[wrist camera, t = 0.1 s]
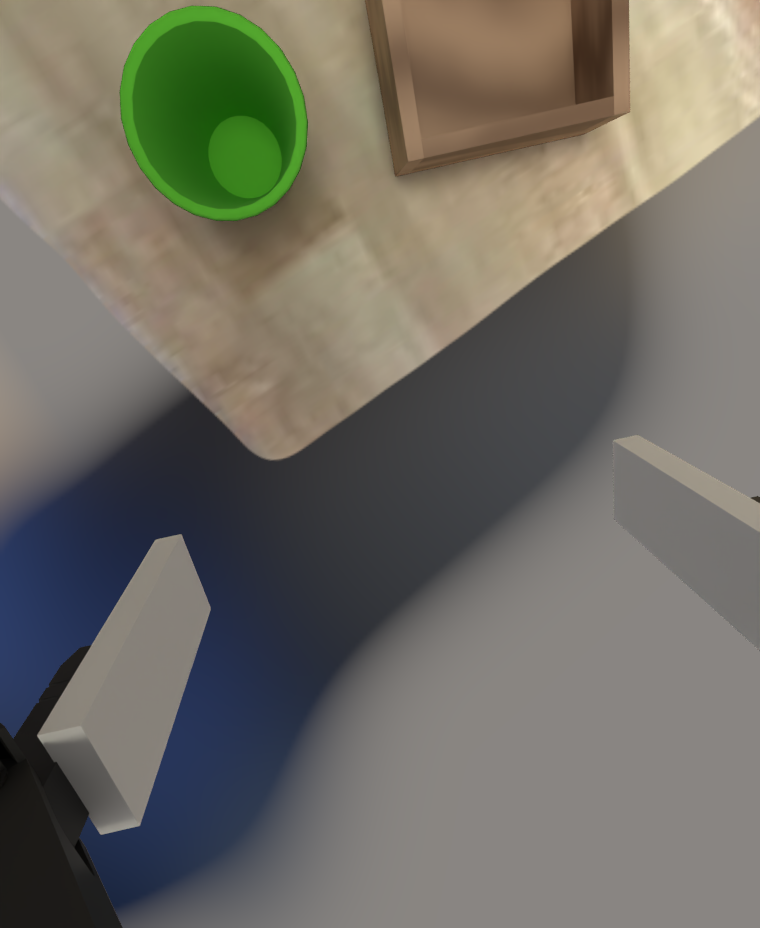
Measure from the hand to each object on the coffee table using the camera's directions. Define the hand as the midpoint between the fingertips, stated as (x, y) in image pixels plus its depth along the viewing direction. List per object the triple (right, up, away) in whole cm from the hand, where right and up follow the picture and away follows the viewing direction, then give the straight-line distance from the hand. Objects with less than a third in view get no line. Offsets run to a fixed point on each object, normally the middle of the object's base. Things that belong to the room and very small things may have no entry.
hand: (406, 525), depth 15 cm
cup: (-10, +23, +20) cm, 32 cm away
